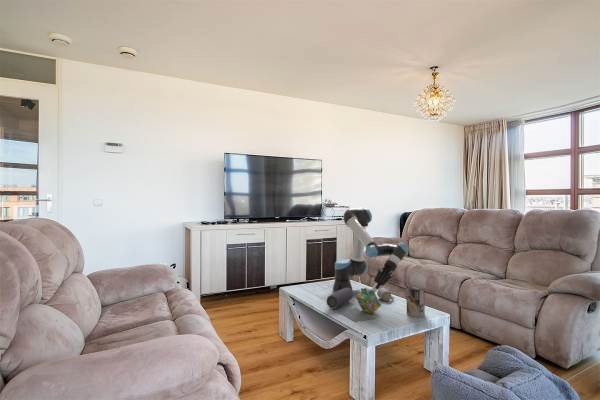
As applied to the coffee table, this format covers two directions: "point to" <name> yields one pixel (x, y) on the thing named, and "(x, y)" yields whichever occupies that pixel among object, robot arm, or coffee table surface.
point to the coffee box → (415, 301)
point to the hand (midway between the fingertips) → (372, 292)
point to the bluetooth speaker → (339, 298)
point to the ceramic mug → (384, 294)
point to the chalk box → (368, 300)
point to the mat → (355, 314)
